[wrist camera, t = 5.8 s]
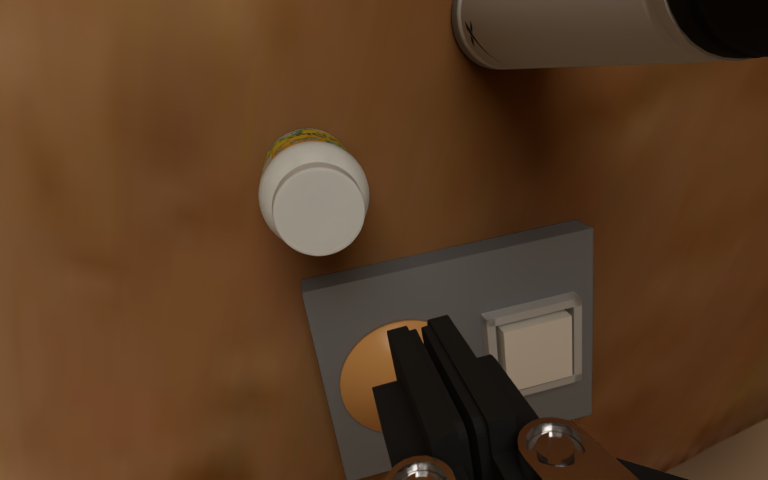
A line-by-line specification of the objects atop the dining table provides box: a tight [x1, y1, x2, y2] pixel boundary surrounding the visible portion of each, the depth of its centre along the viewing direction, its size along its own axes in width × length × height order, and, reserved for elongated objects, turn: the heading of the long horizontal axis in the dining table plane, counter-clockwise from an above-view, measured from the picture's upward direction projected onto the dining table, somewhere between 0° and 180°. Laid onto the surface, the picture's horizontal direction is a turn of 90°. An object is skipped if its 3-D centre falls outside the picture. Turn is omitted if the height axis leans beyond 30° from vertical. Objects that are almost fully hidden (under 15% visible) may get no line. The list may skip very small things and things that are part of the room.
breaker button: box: [495, 310, 572, 390], centre depth 34 cm, size 5×5×3 cm
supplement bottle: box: [259, 129, 369, 256], centre depth 24 cm, size 5×5×10 cm
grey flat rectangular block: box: [301, 220, 593, 480], centre depth 34 cm, size 20×16×3 cm
